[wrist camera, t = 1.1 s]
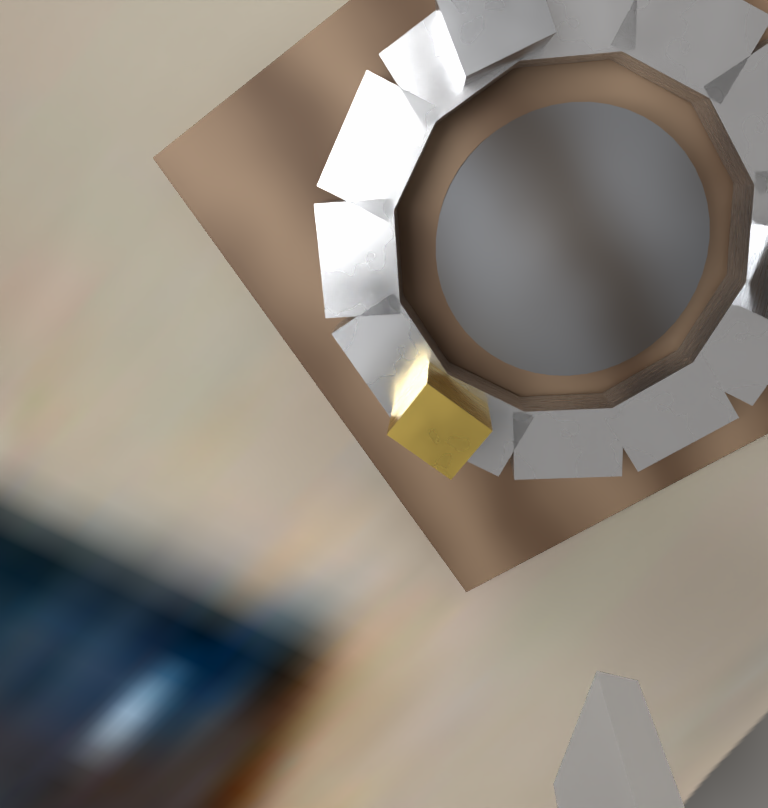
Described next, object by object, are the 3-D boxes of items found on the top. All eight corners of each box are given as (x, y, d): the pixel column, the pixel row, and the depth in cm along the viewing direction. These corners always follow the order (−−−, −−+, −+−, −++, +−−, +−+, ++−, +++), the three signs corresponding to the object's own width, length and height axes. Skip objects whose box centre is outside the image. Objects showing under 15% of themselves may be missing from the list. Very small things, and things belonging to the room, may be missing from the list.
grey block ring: (483, 531, 33) (489, 592, 28) (234, 174, 29) (193, 176, 24) (892, 307, 29) (981, 336, 24) (666, -154, 24) (719, -231, 20)
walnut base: (465, 569, 36) (467, 623, 32) (170, 158, 31) (127, 157, 27) (942, 314, 31) (1023, 338, 26) (678, -245, 25) (725, -327, 21)
